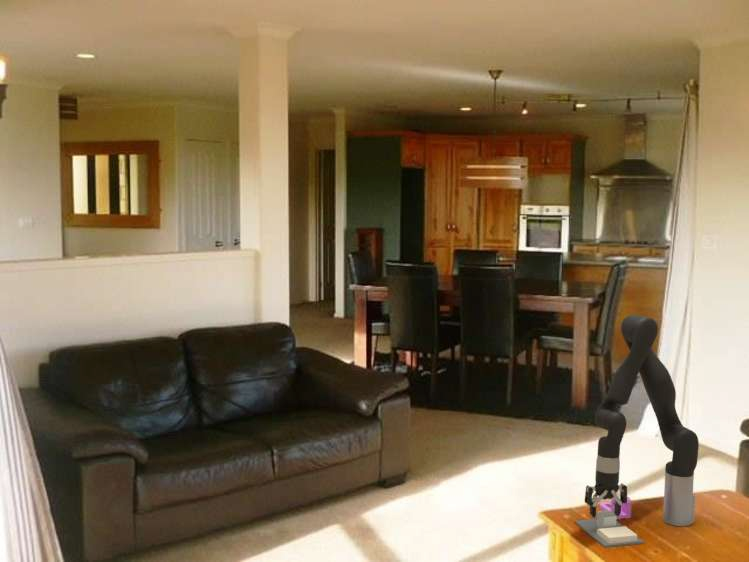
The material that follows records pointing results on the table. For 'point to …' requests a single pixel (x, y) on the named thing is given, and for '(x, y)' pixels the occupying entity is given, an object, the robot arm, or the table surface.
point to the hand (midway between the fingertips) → (605, 515)
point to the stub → (606, 519)
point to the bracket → (624, 510)
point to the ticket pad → (593, 533)
